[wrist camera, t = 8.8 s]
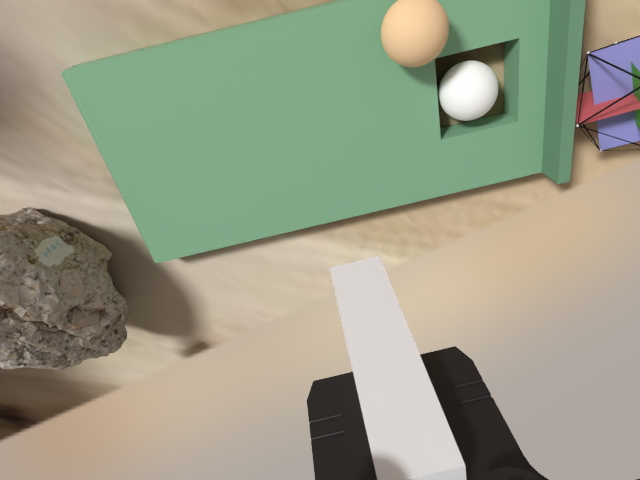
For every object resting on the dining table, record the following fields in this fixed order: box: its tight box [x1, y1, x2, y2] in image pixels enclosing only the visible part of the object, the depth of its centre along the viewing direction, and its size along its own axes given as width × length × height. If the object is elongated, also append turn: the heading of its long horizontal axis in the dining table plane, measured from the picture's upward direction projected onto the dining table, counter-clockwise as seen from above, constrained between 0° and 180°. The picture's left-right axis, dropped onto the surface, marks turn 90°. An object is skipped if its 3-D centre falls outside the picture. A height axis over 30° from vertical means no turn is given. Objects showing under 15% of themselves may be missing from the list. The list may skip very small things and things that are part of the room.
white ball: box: [438, 60, 498, 121], centre depth 28 cm, size 4×4×4 cm
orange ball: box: [381, 0, 449, 67], centre depth 24 cm, size 4×4×4 cm
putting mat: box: [61, 0, 586, 263], centre depth 28 cm, size 28×13×4 cm, turn 102°
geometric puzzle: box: [575, 36, 640, 152], centre depth 27 cm, size 7×7×8 cm
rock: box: [0, 207, 129, 370], centre depth 29 cm, size 14×10×8 cm
